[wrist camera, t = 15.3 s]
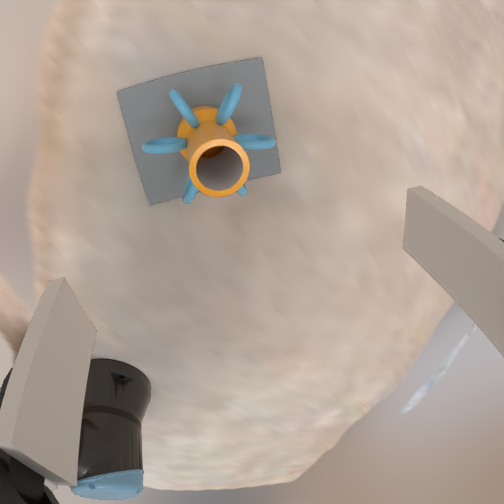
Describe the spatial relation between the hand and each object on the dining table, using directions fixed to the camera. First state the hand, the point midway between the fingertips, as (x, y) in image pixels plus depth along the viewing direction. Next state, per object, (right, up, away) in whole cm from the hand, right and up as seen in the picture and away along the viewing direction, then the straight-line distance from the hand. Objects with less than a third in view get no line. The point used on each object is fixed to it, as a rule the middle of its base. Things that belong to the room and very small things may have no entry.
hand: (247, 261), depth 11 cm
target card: (-5, +14, +22) cm, 27 cm away
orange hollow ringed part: (-5, +14, +22) cm, 26 cm away
